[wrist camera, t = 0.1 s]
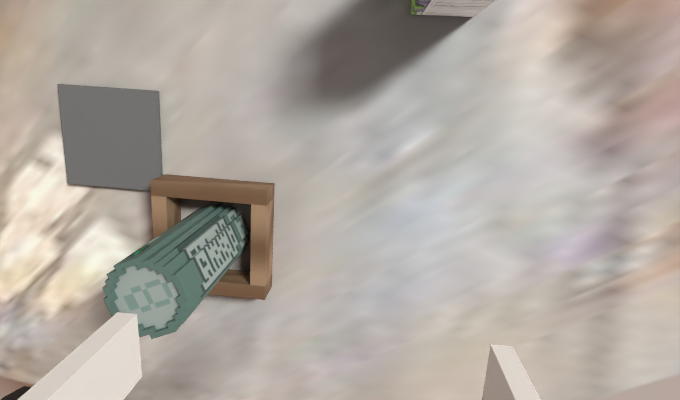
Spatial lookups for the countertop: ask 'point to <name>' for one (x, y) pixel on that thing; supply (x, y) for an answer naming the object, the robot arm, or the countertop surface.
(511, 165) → the countertop surface
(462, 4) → the syrup box
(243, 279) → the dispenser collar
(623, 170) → the countertop surface
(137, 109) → the mat
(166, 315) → the can
